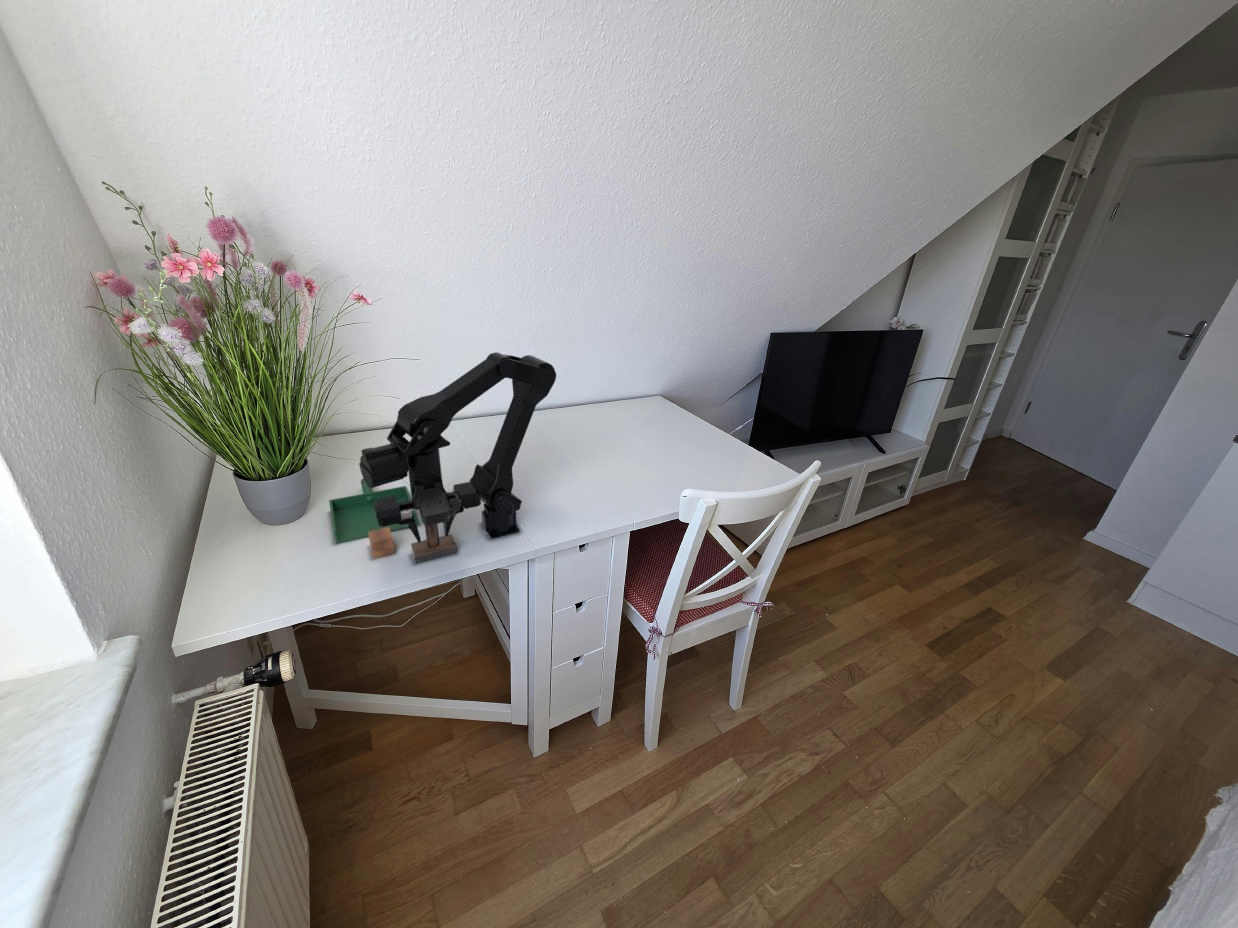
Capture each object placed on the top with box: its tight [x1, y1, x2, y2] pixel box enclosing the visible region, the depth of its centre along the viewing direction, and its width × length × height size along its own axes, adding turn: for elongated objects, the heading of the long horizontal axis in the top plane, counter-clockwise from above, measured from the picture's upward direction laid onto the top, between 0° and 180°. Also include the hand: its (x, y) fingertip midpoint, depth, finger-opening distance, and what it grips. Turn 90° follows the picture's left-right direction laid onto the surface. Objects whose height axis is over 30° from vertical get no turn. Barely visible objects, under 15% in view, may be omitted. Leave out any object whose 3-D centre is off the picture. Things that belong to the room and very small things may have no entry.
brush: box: [410, 523, 457, 565], centre depth 102 cm, size 8×3×8 cm, turn 120°
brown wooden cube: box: [368, 527, 396, 559], centre depth 103 cm, size 4×4×4 cm
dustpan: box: [328, 477, 419, 544], centre depth 116 cm, size 22×16×3 cm
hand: (432, 538), depth 102 cm, fingers open, 5 cm apart
